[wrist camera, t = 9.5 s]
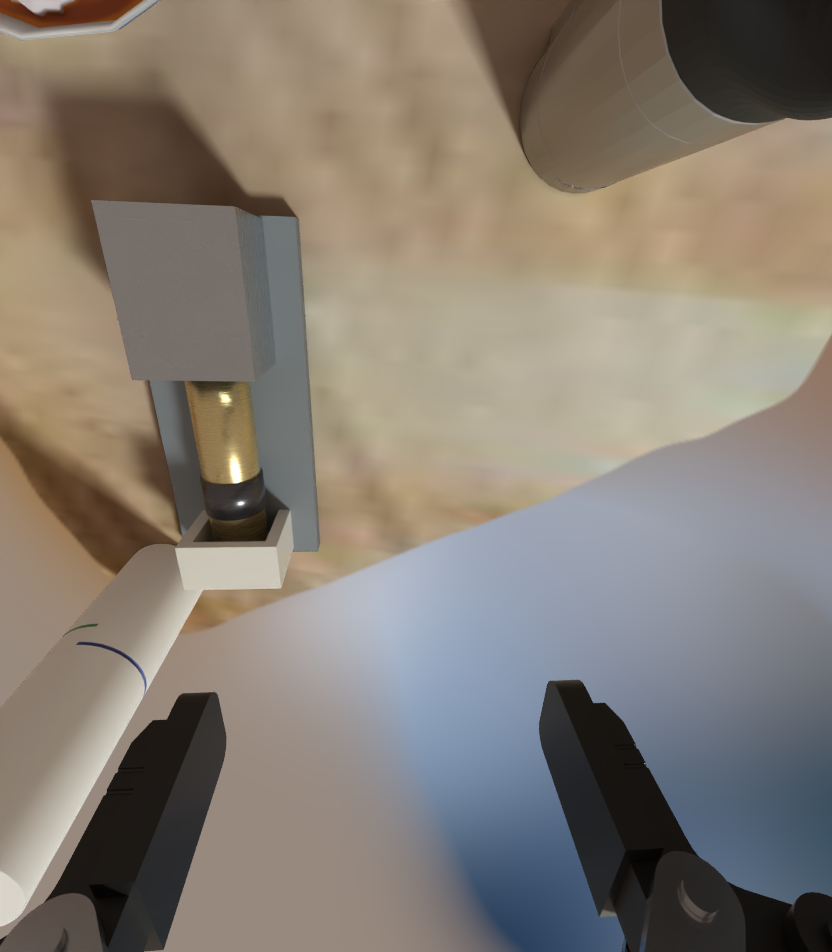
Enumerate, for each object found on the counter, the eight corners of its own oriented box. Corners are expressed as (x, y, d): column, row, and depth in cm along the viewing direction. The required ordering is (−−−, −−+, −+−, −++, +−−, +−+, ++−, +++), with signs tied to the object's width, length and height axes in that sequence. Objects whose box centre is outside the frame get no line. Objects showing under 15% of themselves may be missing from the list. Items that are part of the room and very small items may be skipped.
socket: (202, 510, 40) (174, 548, 34) (290, 509, 40) (276, 546, 35) (209, 548, 42) (184, 590, 36) (293, 547, 42) (281, 588, 37)
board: (124, 211, 32) (112, 209, 30) (298, 219, 33) (295, 216, 31) (192, 544, 43) (186, 553, 42) (319, 542, 44) (318, 551, 42)
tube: (188, 325, 34) (160, 334, 29) (253, 327, 34) (235, 335, 30) (223, 533, 41) (205, 563, 37) (276, 532, 41) (264, 562, 37)
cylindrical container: (204, 608, 46) (32, 934, 23) (129, 598, 45) (-128, 931, 22) (208, 550, 43) (17, 856, 21) (128, 538, 42) (-167, 847, 19)
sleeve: (147, 213, 30) (91, 200, 24) (262, 218, 31) (234, 206, 25) (175, 361, 35) (132, 379, 29) (276, 363, 35) (255, 381, 29)
